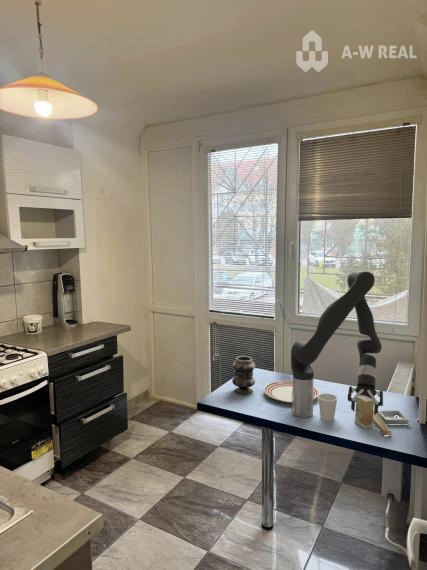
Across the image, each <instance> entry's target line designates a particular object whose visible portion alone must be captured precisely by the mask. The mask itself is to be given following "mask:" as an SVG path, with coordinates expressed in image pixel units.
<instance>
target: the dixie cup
mask: <svg viewBox="0 0 427 570" xmlns="http://www.w3.org/2000/svg"><path fill="white" fill-rule="evenodd" d="M317 398H318V404H319V414H320V415H319V416H320V419H321V420H322V421H324V422H333V421H334V420H335V415H336V409H337V401H338V396H337V395H335V394H332V393H326V392H324V393H319V395H318V397H317Z"/></svg>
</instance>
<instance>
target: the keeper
mask: <svg viewBox="0 0 427 570" xmlns="http://www.w3.org/2000/svg"><path fill="white" fill-rule="evenodd" d="M377 415H378V416H379V417H380V418H381V419H382V421H383V422H384V423H385V424H408V425H409V422H410V421H409V419H408V418H407V416H406V415H404V413H402V412H401V411H400V410H398V409H397V410H395V409H394V410H389V409H387V410H386V409H385V410H384V409H378V413H377ZM395 415H398V416H399V417H400V418H401V419H398V418H397V416H396V417H395V418H394V416H395Z"/></svg>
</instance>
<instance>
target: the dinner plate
mask: <svg viewBox="0 0 427 570" xmlns="http://www.w3.org/2000/svg"><path fill="white" fill-rule="evenodd" d="M292 391H293V380H278V381H277V380H276V381H273V382H269V383H267V384H266V385H265V386H264V389H263V392H264V393H265V395H266V396H268V397H269V398H272V399H274V400H275V401H276V400H277V401H279V402H283V403H291V404H292ZM318 395H320V392H319V390H318V389H317V388H316V387H315V386H313V401H314V400H315V399H316V398H318Z"/></svg>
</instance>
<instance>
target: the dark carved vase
mask: <svg viewBox="0 0 427 570" xmlns="http://www.w3.org/2000/svg"><path fill="white" fill-rule="evenodd" d="M232 367H233V369H234V376H233V377H232V380H231V382H232V384H233V385H234V386H235V387H236V388H235V389H234V390H233V391H234V393H235V394H237V395H241V396H244V395H246V396H247V395H250V394H253V393H254V390H253V389H252V388H251V387H253V386H254V385H255V383H256V379H255V377H254V370H255V368H256V364H255V362H254V361H253V358H252V357H251V356H247V355H240V356H237V357H236V358H235V361H234V362H233V363H232Z"/></svg>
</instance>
